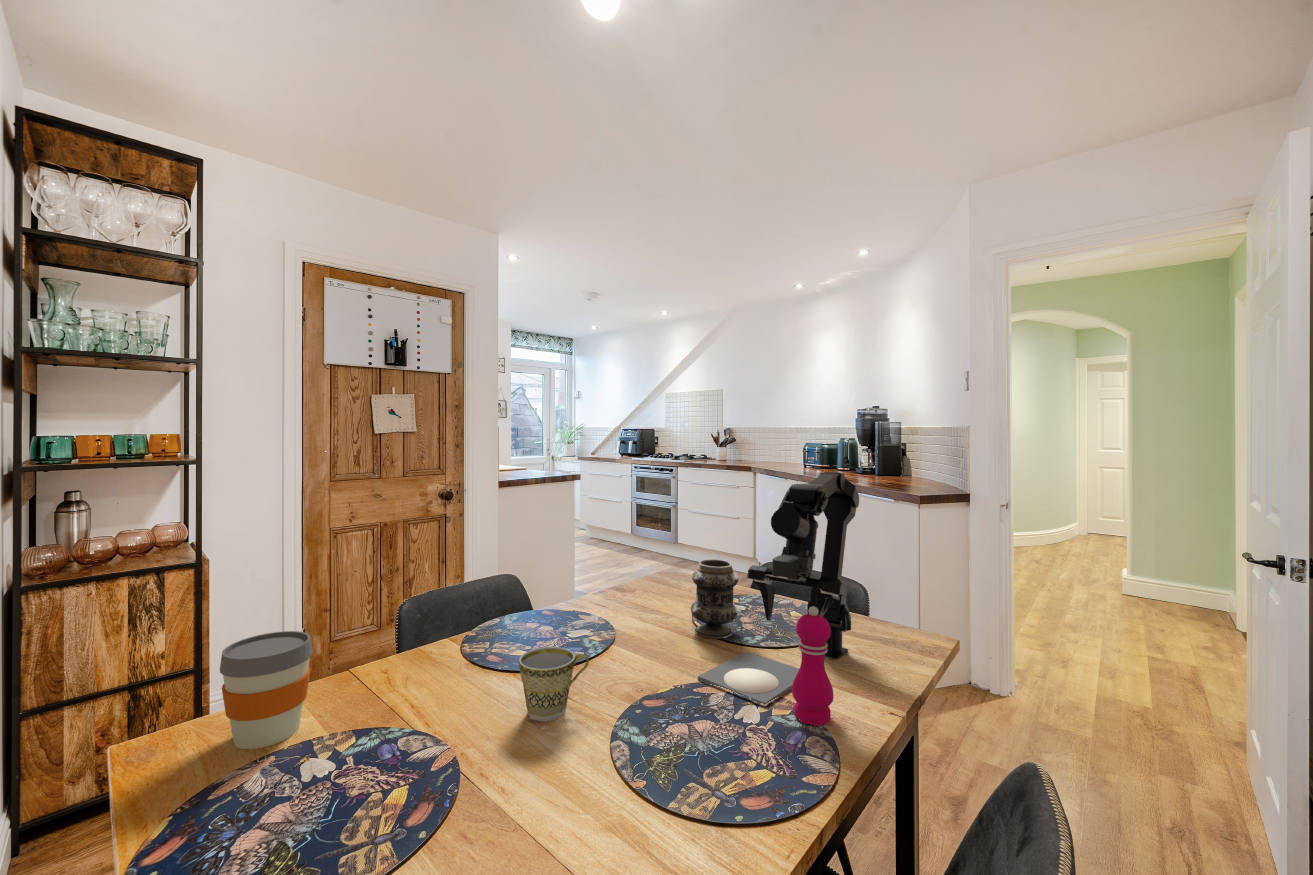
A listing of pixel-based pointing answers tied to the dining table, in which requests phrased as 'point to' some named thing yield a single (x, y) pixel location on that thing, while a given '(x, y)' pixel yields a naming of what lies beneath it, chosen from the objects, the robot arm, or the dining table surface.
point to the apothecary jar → (714, 598)
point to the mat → (753, 676)
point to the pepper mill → (812, 671)
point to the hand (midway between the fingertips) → (790, 625)
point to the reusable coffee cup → (265, 686)
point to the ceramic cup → (548, 680)
